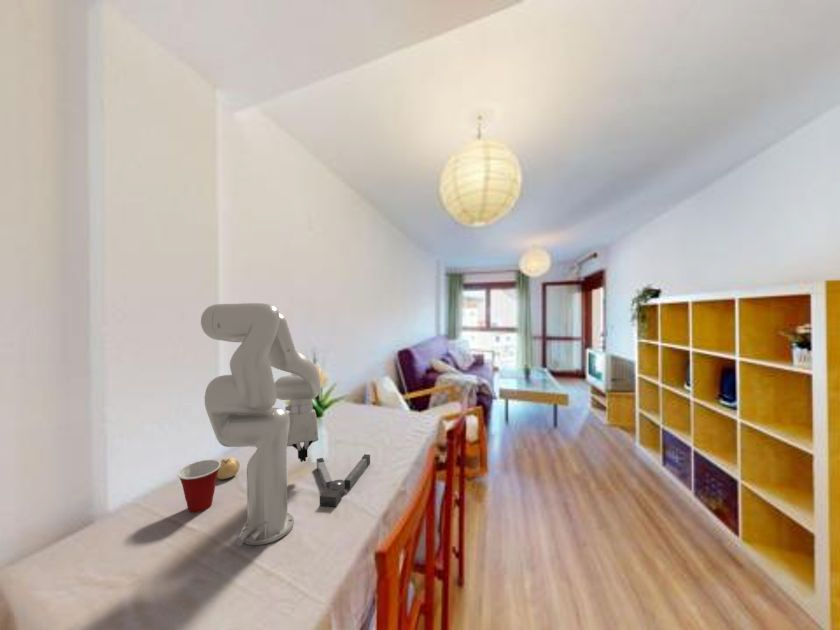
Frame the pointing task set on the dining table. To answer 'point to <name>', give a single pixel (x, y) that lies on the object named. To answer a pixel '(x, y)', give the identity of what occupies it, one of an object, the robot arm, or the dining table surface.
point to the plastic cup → (199, 483)
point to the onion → (228, 468)
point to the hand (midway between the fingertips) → (302, 459)
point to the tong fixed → (334, 496)
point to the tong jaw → (329, 478)
